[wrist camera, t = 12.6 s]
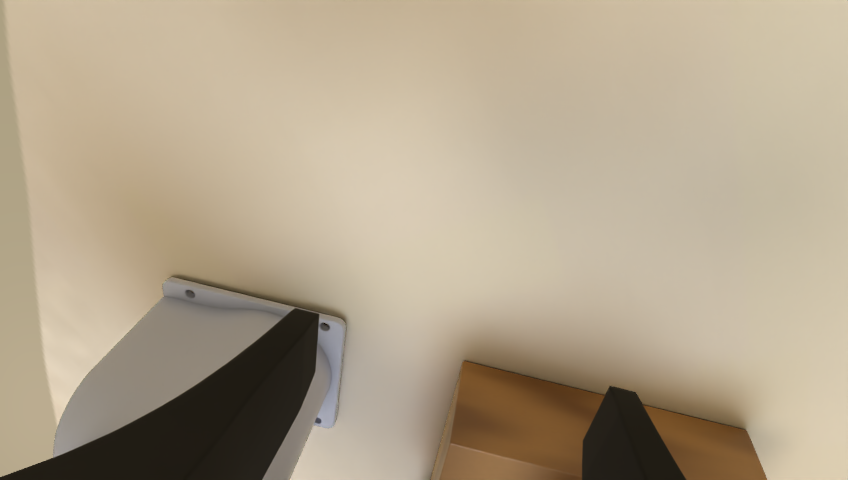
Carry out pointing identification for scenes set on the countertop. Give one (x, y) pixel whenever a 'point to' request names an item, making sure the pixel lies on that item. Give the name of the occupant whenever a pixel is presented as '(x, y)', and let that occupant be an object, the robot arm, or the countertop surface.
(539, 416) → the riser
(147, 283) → the countertop surface
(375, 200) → the countertop surface
